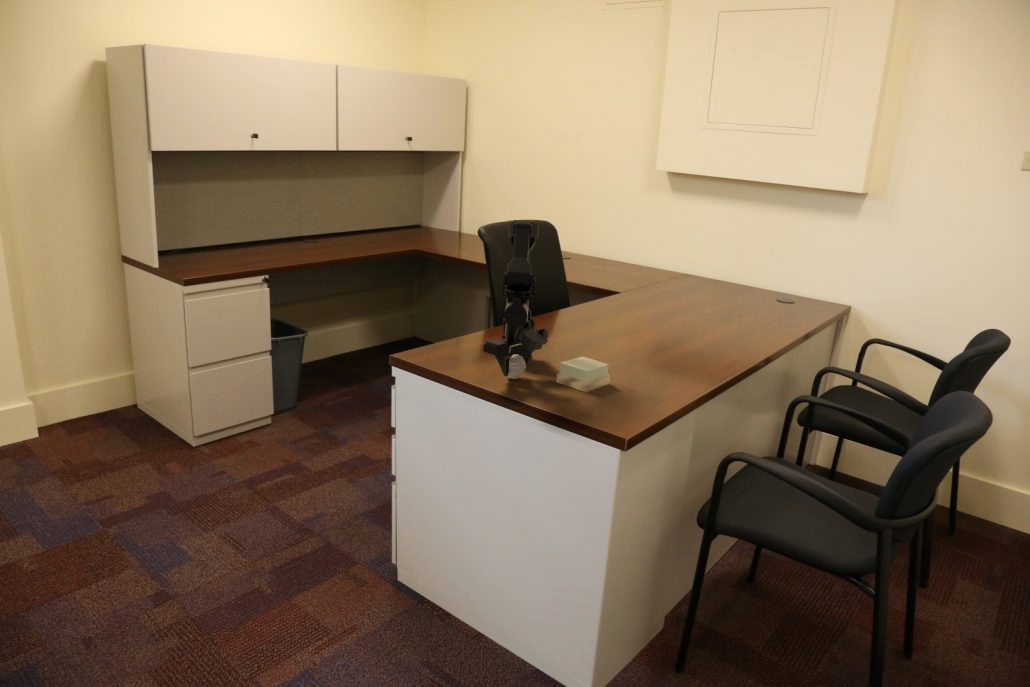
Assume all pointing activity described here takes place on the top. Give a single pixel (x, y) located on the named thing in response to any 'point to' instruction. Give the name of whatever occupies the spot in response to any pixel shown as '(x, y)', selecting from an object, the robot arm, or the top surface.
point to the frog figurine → (516, 366)
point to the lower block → (580, 384)
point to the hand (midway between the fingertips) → (514, 373)
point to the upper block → (584, 369)
